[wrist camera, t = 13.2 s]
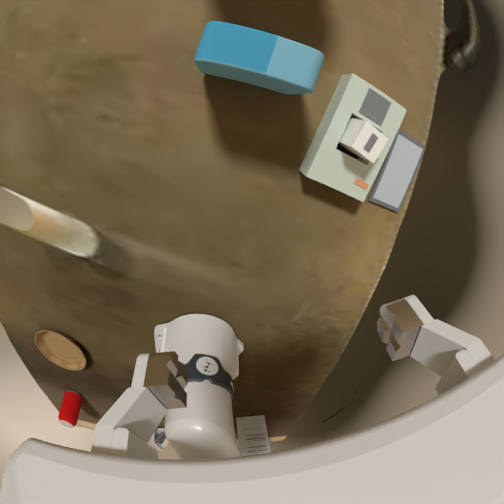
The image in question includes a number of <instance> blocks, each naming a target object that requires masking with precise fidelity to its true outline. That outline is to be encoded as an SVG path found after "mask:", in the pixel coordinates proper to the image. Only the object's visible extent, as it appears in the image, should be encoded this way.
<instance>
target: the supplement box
mask: <svg viewBox="0 0 504 504" xmlns="http://www.w3.org/2000/svg"><path fill="white" fill-rule="evenodd" d="M236 423H237V434H238V441H239V449H240V452H241V455H242V456H248V455H256V454H263V453H269V452H270V446H269V440H268V434H267V428H266V422H265V415H259V416H249V417H236Z"/></svg>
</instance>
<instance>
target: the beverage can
mask: <svg viewBox="0 0 504 504" xmlns="http://www.w3.org/2000/svg"><path fill="white" fill-rule="evenodd" d="M81 403H82V397H81V396H80V394H78V393H77V392H75V391H72V390H68V391H66V392H65V395H64V398H63V401H62V405H61V408H60V412H59V421H60V422H61V423H62V424H63V425H65V426H68V427H71V428H72V427H74V426H75V425H76V424H77V420H78V415H79V411H80V407H81Z"/></svg>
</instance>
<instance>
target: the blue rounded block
mask: <svg viewBox="0 0 504 504" xmlns="http://www.w3.org/2000/svg"><path fill="white" fill-rule="evenodd" d="M323 60H324V55H323V54H322V53H321V52H320V51H318V50H316V49H314V48H311V47H309V46H306V45H303V44H301V43H298V42H295V41H292V40H289V39H286V38H283V37H280V36H277V35H274V34H270V33H267V32H263V31H260V30H256V29H252V28H248V27H244V26H240V25H235V24H231V23H226V22H220V21H211V22H208V23H207V24H206V26H205V29H204V31H203V34H202V37H201V40H200V43H199V46H198V49H197V52H196V55H195V58H194V61H195V63H196V65H197V66H198V68H199V69H200V71H201V72H202V73H205V74H209V75H213V76H218V77H223V78H227V79H231V80H236V81H240V82H244V83H248V84H251V85H255V86H259V87H262V88H266V89H269V90H273V91H276V92H279V93H283V94H288V95H292V94H304V93H312V92H313V91H314V88H315V85H316V82H317V79H318V76H319V72H320V69H321V66H322V63H323Z"/></svg>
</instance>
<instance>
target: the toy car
mask: <svg viewBox="0 0 504 504" xmlns="http://www.w3.org/2000/svg"><path fill="white" fill-rule="evenodd" d="M151 442H152V443H153V444H154V445H155V446H156V447H157V448H158V449H159V450H160V451H162V450H163V447H164V448H165V447H166V445H167V444H168V442H169V441H168V440H167V438H166V435H165V430H164V428H156V430H155V431H154V433H153V435H152V438H151Z"/></svg>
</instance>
